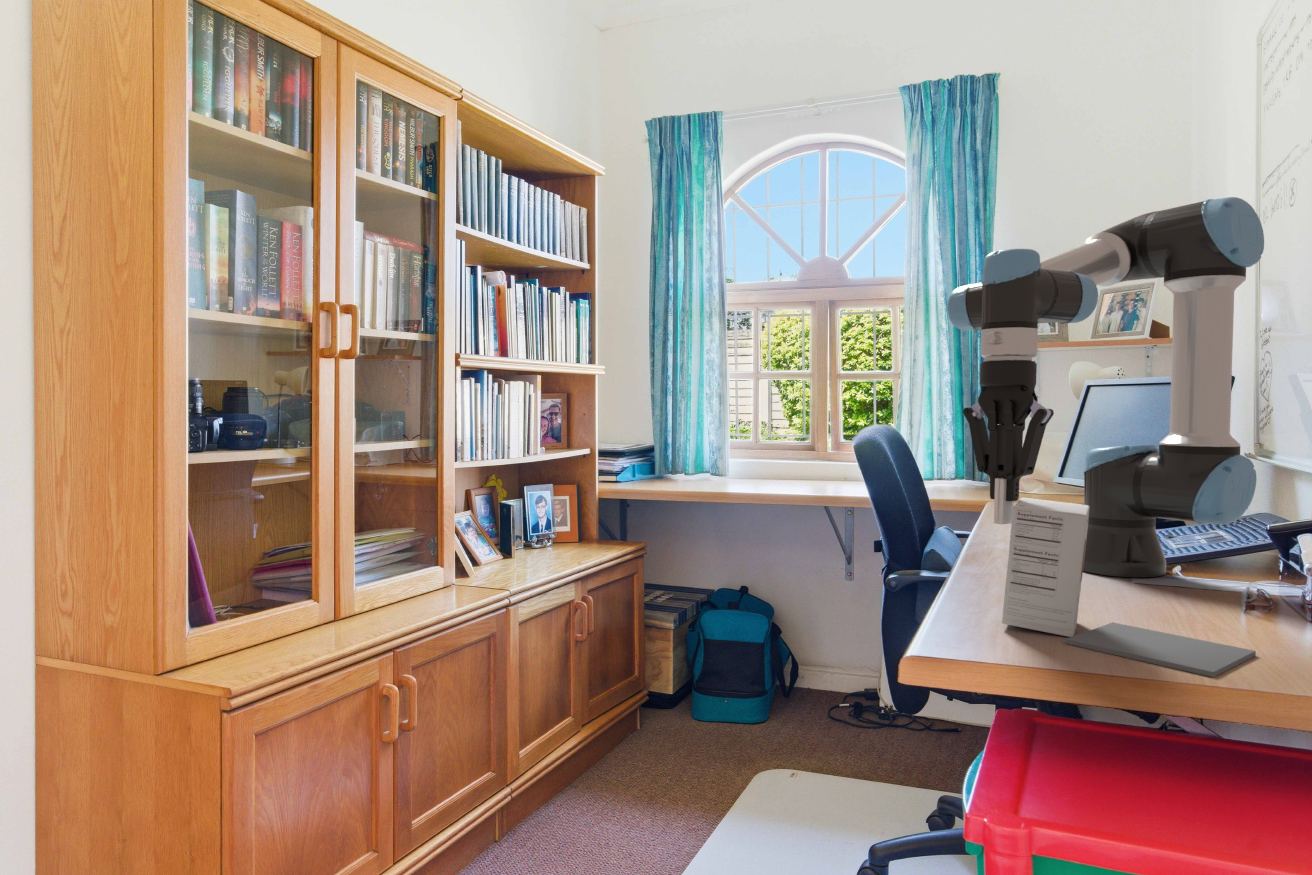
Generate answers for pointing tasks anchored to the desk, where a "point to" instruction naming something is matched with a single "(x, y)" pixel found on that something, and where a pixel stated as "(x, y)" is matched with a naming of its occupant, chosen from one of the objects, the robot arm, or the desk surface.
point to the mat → (1163, 648)
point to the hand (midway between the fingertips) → (1003, 522)
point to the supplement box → (1045, 565)
